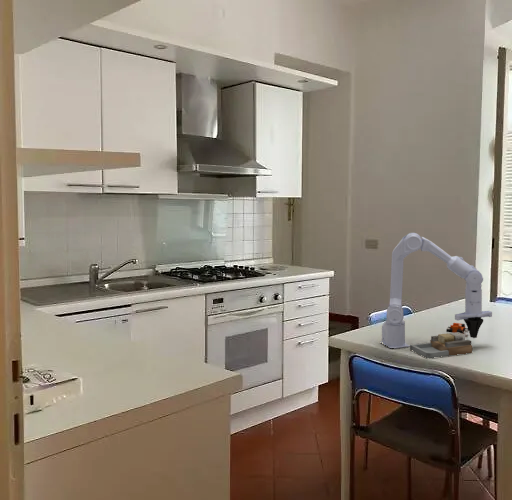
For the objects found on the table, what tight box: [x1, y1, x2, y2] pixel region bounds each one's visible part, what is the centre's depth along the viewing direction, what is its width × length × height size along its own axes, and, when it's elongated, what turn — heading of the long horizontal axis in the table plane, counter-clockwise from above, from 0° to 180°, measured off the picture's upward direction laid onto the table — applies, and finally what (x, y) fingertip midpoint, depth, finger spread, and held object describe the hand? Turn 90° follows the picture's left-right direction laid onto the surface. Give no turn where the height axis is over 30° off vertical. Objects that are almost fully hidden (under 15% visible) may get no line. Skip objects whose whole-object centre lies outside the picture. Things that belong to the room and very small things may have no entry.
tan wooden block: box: [437, 332, 454, 345], centre depth 205 cm, size 4×4×3 cm
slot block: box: [429, 335, 473, 356], centre depth 206 cm, size 12×10×4 cm
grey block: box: [448, 332, 466, 341], centre depth 206 cm, size 4×4×3 cm
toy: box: [445, 322, 469, 334], centre depth 226 cm, size 8×6×15 cm
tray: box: [409, 342, 450, 359], centre depth 204 cm, size 12×8×2 cm
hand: (473, 337), depth 208 cm, fingers closed
